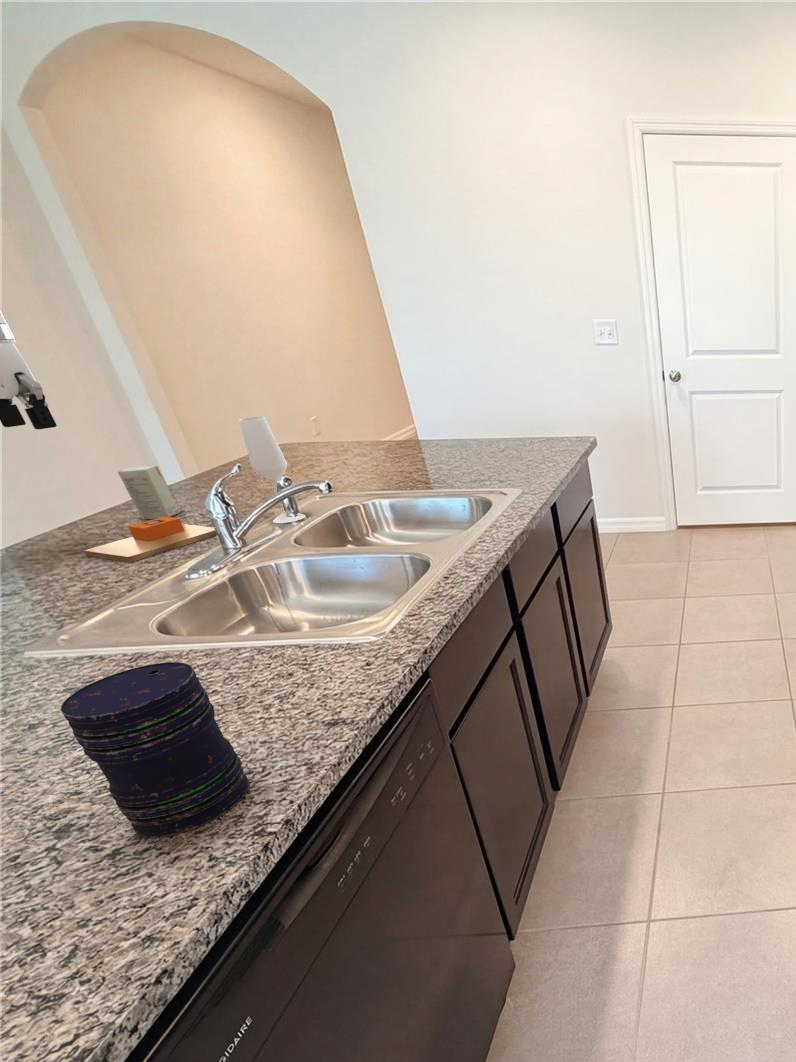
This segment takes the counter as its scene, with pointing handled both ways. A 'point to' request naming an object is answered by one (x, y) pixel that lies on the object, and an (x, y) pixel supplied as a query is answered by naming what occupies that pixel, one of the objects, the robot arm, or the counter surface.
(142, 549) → the base pad
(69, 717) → the stacked disc cylinder
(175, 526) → the orange block
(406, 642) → the counter surface
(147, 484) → the cosmetic box
